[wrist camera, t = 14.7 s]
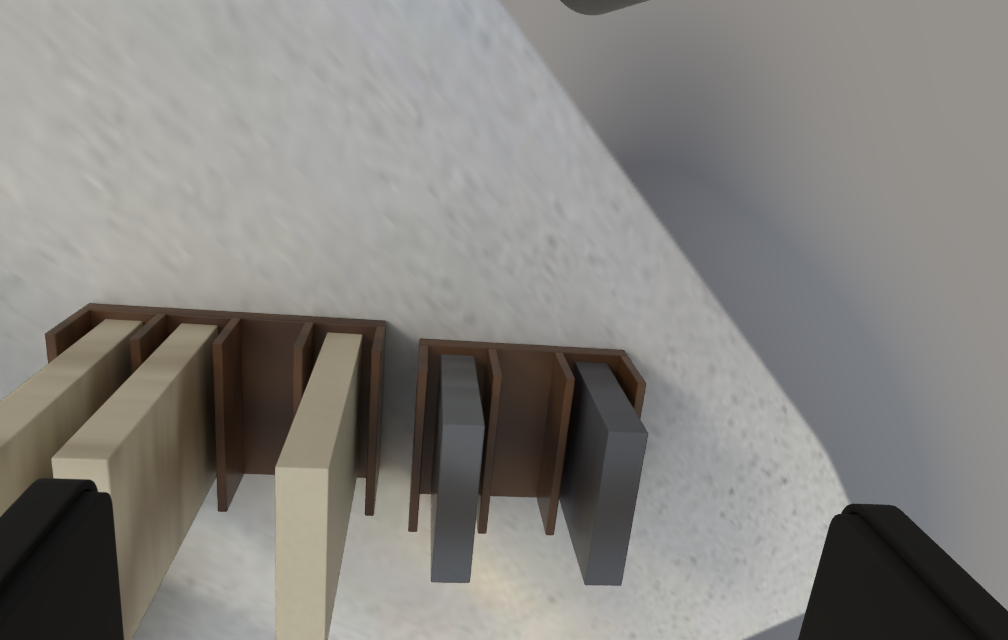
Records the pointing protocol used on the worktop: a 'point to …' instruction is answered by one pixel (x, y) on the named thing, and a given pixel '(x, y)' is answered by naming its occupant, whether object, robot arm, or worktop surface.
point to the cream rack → (172, 418)
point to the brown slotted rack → (527, 447)
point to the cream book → (317, 491)
